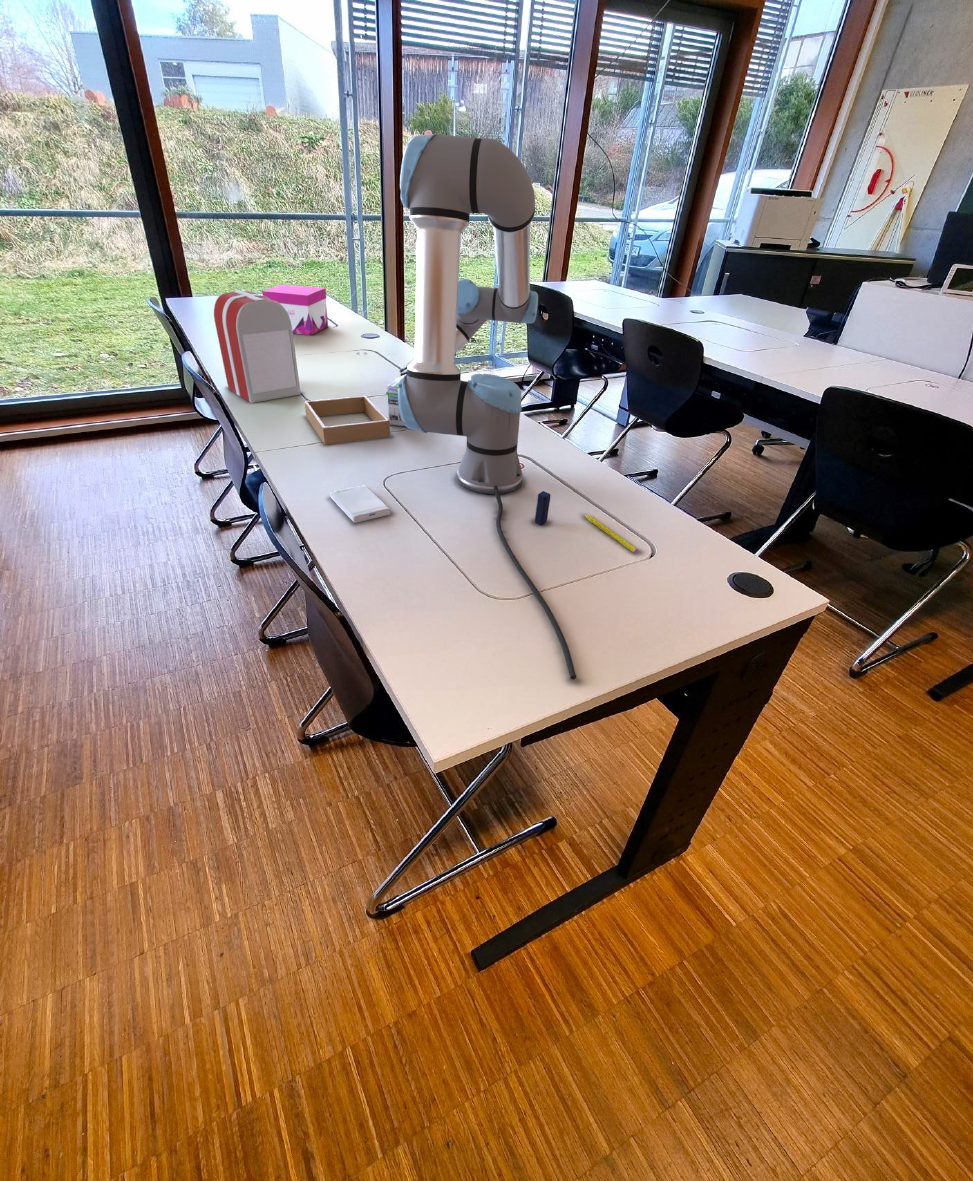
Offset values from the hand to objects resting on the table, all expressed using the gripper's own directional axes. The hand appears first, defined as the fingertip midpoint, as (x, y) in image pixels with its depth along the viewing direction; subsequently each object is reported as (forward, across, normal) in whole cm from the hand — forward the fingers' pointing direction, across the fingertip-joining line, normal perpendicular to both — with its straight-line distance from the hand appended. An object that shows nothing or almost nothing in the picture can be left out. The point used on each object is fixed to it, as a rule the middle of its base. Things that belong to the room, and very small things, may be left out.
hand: (397, 403), depth 163 cm
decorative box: (+5, +118, -2) cm, 118 cm away
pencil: (-10, -75, -18) cm, 78 cm away
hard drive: (+21, -46, +14) cm, 52 cm away
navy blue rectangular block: (-2, -66, -10) cm, 67 cm away
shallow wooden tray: (+14, 0, +7) cm, 15 cm away
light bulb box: (+2, 0, -5) cm, 6 cm away
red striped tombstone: (+25, +38, +18) cm, 49 cm away
